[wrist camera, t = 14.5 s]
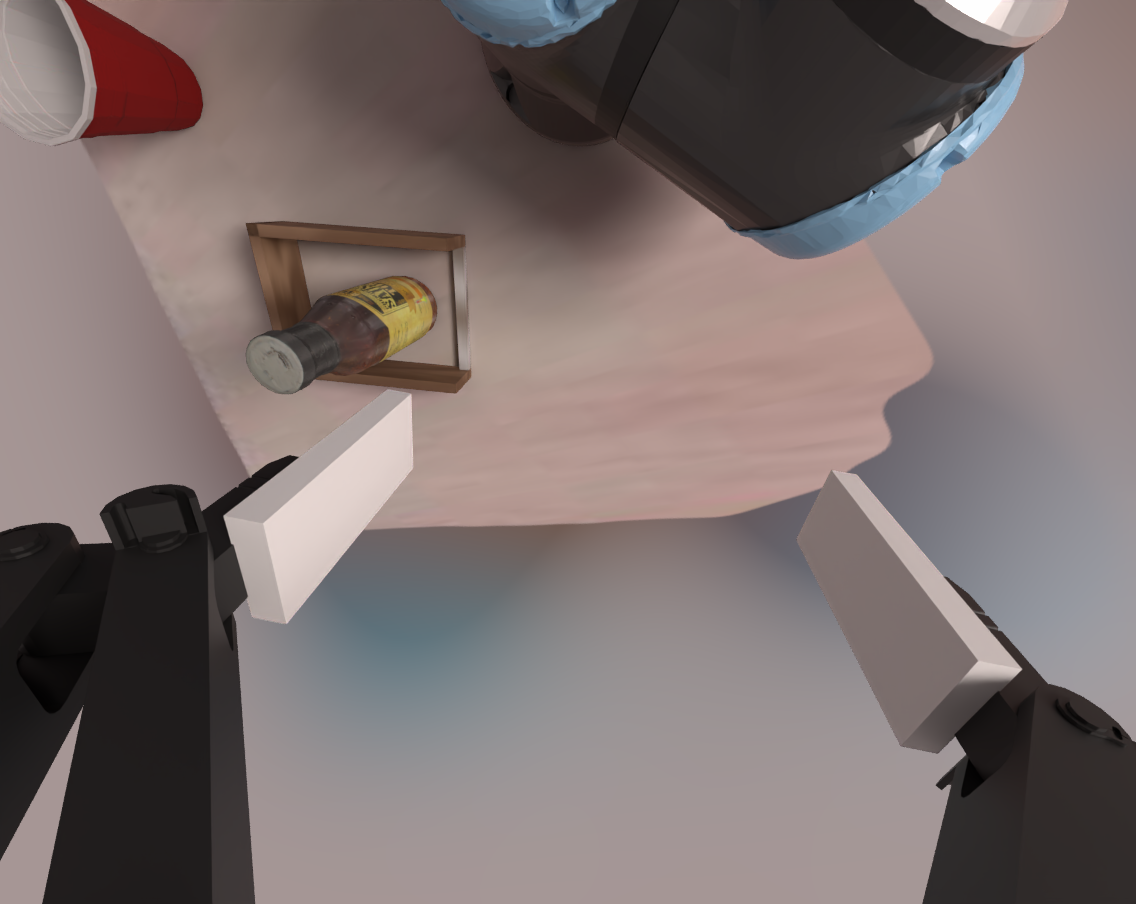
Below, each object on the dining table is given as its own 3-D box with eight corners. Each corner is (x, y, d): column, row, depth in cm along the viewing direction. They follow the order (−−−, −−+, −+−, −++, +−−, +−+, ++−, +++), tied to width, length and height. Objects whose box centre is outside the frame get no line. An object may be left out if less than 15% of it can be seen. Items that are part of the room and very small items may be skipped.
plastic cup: (131, -35, 36) (-71, -133, 26) (250, 88, 39) (112, 45, 29) (90, 86, 41) (-98, 44, 30) (200, 188, 44) (64, 183, 33)
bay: (283, 221, 44) (245, 223, 40) (464, 234, 43) (446, 238, 38) (313, 361, 51) (284, 376, 47) (471, 376, 50) (456, 393, 45)
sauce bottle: (438, 276, 45) (320, 323, 28) (441, 339, 48) (337, 416, 31) (374, 270, 45) (218, 311, 28) (381, 332, 48) (244, 405, 31)
